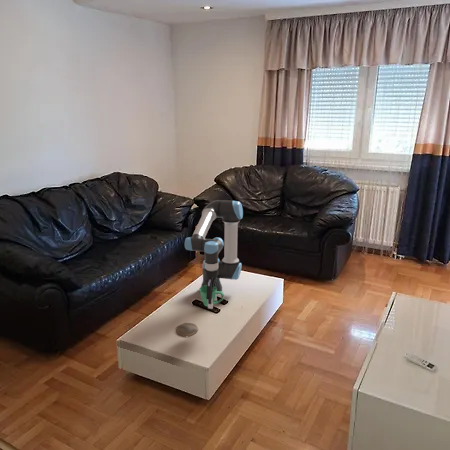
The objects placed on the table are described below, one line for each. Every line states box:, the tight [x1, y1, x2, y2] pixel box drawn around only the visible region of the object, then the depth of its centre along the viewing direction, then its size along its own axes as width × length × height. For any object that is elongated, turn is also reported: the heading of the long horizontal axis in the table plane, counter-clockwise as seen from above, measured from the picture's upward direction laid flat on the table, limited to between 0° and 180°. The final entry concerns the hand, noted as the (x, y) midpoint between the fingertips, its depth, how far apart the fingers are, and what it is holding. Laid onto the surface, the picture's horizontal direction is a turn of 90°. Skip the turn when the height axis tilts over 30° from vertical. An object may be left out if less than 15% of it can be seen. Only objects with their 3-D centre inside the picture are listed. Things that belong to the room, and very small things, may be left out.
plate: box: [175, 322, 199, 338], centre depth 232 cm, size 13×13×1 cm
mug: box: [199, 285, 225, 307], centre depth 228 cm, size 15×10×10 cm
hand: (212, 304), depth 230 cm, fingers closed on mug, 9 cm apart
